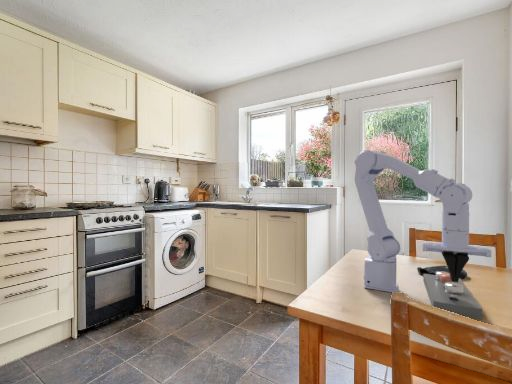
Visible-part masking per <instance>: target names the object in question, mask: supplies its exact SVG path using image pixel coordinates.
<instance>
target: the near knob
mask: <svg viewBox="0 0 512 384" xmlns="http://www.w3.org/2000/svg"><path fill="white" fill-rule="evenodd" d="M445 292H447V293H449V294H451V300H455V301H457V295H463V293H464V286H463V285H461V284H458V283H454V282H446V283H445Z"/></svg>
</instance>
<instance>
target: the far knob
mask: <svg viewBox="0 0 512 384" xmlns="http://www.w3.org/2000/svg"><path fill="white" fill-rule="evenodd" d="M441 273H447V274H450V273H448V272H444V271H436V274H435V275H436V279H437V280H440V274H441Z"/></svg>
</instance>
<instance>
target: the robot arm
mask: <svg viewBox="0 0 512 384" xmlns="http://www.w3.org/2000/svg"><path fill="white" fill-rule="evenodd" d="M354 164H355V174H354V183H355V188H356V190H357V194H358V196H359V200H360V203H361V206H362V210H363V213H364V218H365V221H366V223H367V227H368V230H369V233H368V235H367V238H366V239H367V253H368V255H369V256H370V257H365V258H364V270H363V271H364V272H363V273H364V274H363V281H364V284H363V288H365V289H371V290H376V291H383V292H387V293H388V292H389V293H394V292H398V293H399V289H398V282H397V262H398V261H397V255H399V254H400V252H401V244H400V242H399V240H397V238H396V237H395V235H394V232H393V231H392V230H391V229H389V227H388V225H387V222H386V220H385V216H384V215H385V214H384V213H383V210H382V209H383V208H382V207H381V206H382V205H381V203H380V200H379V198H378V195H377V191H376V188H375V185H374V181H375V179H376V178H377V176H378V175H379V174H380V173H382V172H383V171H384V170H385V169H387V170H392V171H394V172H396V173H398V174H399V175H402V176H404V177H406V178H409V179H410V180H413V182H414V186H415V187H416V188H418V189H420V190H421V191H424V192H426V193H427V194H429V195H431V196H432V197H435V198H437V199H439V201H440V202H441V204H442V212H441V213H442V214H441V216H442V217H441V243H433V242H432V243H430V242H422V243H421V244H422V245H421V250H422V252H434V253H435V252H436V253H441V255H442V257H443V259H444V261H445V263H446V266H448V270H449V273H450V279H451V281H452V282H458V280H459V277H460V274H461V272H462V269H463V270H464V268H465V266H466V264H467V263H468V262H469V260H470V257H469V256H478V257H486V258H492V249H491V248H489V247H479V246H473V245H472V246H471V245H470V241H469V240H470V201H471V200H472V198H473V190H471V188H470V187H469V186H467V185H466V184H465V183H459V182H458V183H455V182H456V179H454V178H448V177H445V176H443V175H442V174H439V171H438V170H436V169H429V168H427V169H423V170H420V169H419V168H416V167H414V166H413V165H411V164H409V163H407V162H406V161H404V160H402V159H400V158H397V157H396V156H393V155H391V154H388V153H385V152H382V151H374V150H370V149H366V150H365V149H364V150H362V151H361V152H360V153H359V154H358V155H357V156H356V158H355V160H354Z"/></svg>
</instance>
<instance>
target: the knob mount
mask: <svg viewBox="0 0 512 384" xmlns="http://www.w3.org/2000/svg"><path fill="white" fill-rule="evenodd" d="M422 276H423V278H422V279H423V280H422V281H423V284H424V287H425V291H426V294H427V297H428V298H429V302H430V305H431V307H432V306H434V307H437V308H440V309H444V310H447V311H450V312H454V313H457V314H460V315H459V316H461V315H463V316H462V317H466V316H467V317H466V318H468V317H469V318H472V319H473V318H474V319H478V320H483V308H482V307H481V305H480V304H479V302H478V301H477V300H476V299H475V297H474V296H473V294H472V293H471V292H470V290H469V288H468V287H467V286H466V285H465V283H464V282H463V281H462V278H459V280H458V282H457V283H458V284H461V285H463V286H464V293H463V295H457V301H455V300H451V294H449V293H447V292H445V284H444V283H442V282H440V280H437V279H436V274H431V273H430V274H423V275H422Z"/></svg>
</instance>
